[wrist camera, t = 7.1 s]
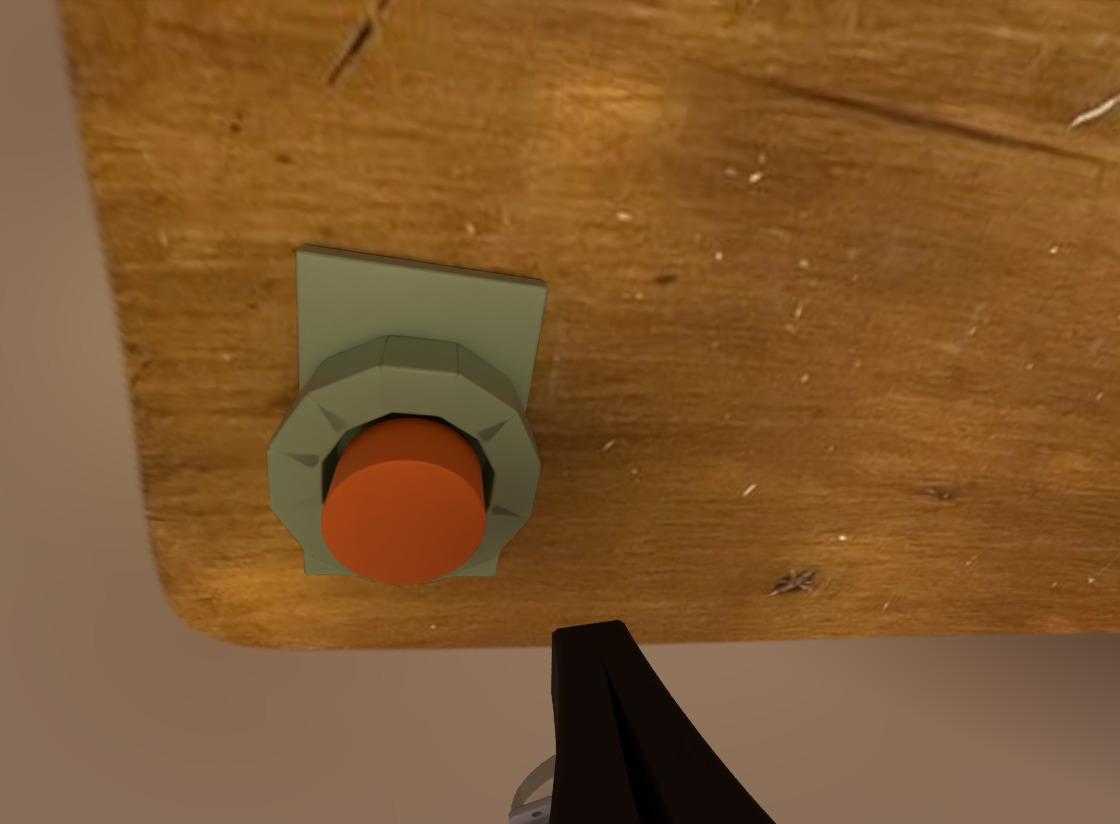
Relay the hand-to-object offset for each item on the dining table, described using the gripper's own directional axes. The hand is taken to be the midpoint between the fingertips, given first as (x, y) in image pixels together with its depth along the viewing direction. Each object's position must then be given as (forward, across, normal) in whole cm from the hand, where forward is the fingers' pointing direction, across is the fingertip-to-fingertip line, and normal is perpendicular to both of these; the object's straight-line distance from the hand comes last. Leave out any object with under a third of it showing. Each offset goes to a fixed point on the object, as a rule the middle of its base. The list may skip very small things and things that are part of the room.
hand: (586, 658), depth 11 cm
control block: (+7, +4, -1) cm, 8 cm away
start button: (+5, +3, -1) cm, 6 cm away
